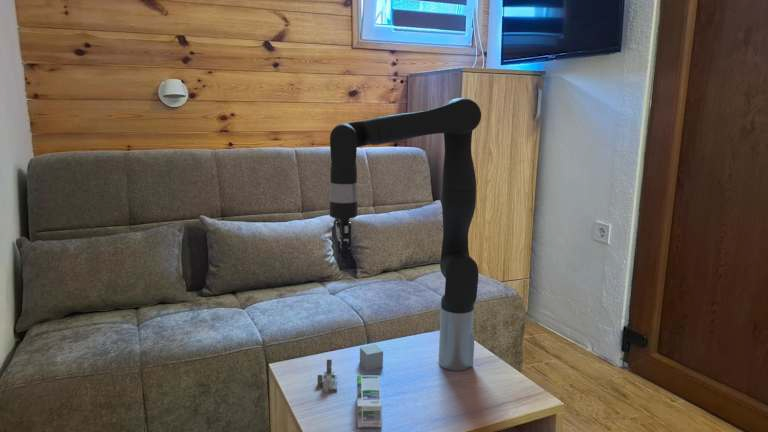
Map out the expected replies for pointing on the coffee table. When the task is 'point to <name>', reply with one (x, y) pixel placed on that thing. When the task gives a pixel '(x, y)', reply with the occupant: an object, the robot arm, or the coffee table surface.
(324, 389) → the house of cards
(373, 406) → the syrup box
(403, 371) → the coffee table surface
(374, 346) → the grey block
